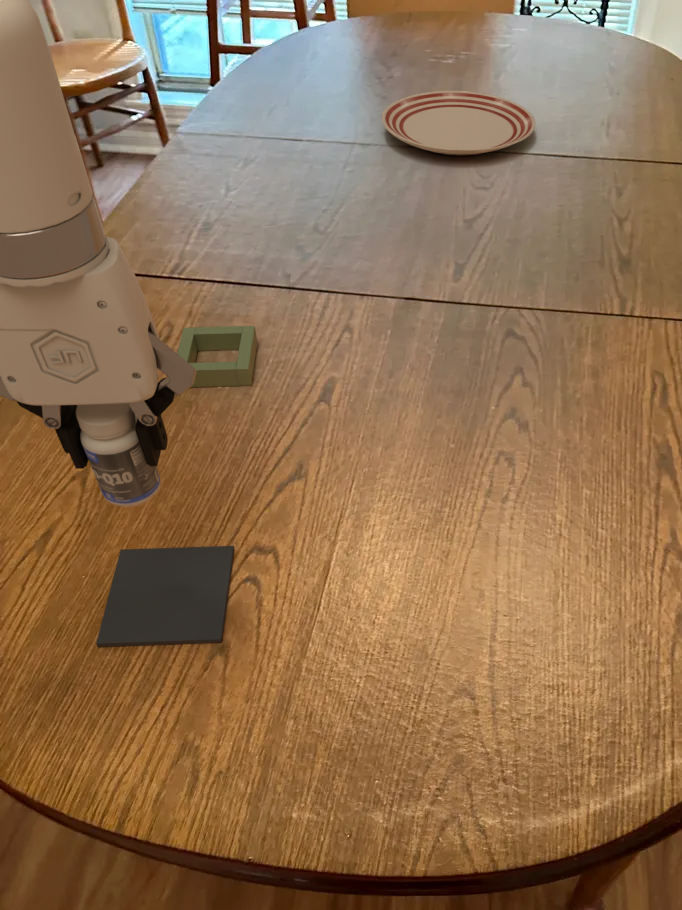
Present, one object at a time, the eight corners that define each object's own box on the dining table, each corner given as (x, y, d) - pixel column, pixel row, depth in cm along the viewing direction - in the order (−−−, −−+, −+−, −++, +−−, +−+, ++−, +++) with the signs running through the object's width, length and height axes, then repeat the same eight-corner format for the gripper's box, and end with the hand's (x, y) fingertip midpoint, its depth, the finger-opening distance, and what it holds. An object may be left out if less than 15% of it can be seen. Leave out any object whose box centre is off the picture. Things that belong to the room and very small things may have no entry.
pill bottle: (91, 502, 63) (56, 421, 57) (120, 463, 66) (90, 382, 60) (145, 513, 62) (115, 433, 56) (172, 473, 65) (147, 392, 59)
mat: (97, 647, 70) (95, 643, 69) (122, 553, 77) (120, 549, 77) (221, 642, 70) (220, 639, 70) (234, 549, 77) (233, 545, 77)
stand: (177, 387, 94) (172, 370, 92) (187, 344, 100) (183, 327, 98) (251, 385, 94) (248, 368, 93) (257, 342, 100) (254, 325, 98)
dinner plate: (476, 95, 155) (477, 77, 152) (564, 145, 139) (567, 125, 137) (354, 126, 145) (353, 106, 143) (435, 182, 130) (436, 162, 127)
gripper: (-129, 269, 45) (-4, 493, 59) (170, 262, 45) (225, 485, 59) (-82, 207, 50) (24, 427, 64) (187, 201, 50) (234, 420, 64)
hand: (120, 453), depth 61 cm, fingers closed on pill bottle, 4 cm apart
